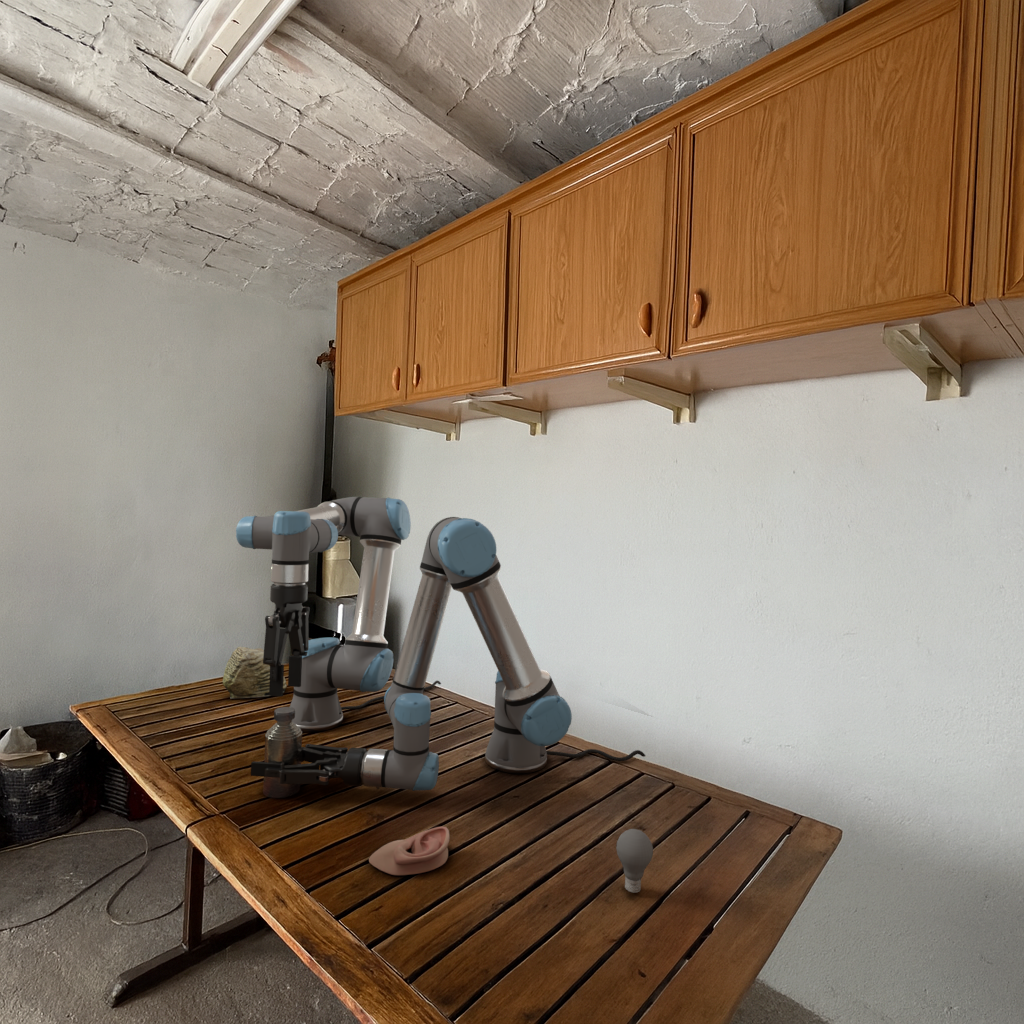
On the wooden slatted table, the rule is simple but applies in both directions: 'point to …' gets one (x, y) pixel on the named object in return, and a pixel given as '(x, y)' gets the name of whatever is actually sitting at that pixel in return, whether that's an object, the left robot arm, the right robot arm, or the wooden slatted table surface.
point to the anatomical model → (413, 853)
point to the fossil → (247, 674)
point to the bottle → (282, 756)
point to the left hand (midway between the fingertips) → (285, 690)
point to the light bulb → (634, 857)
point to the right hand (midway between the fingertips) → (260, 760)
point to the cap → (284, 714)
